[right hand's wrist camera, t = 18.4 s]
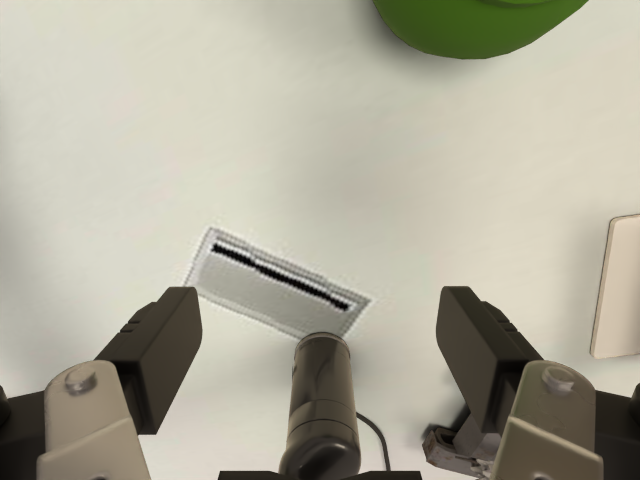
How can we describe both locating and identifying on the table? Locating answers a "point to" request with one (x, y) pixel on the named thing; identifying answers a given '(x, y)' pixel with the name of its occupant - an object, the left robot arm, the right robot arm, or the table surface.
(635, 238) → the tablet stand
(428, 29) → the vase
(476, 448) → the toy
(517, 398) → the right robot arm
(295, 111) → the table surface
